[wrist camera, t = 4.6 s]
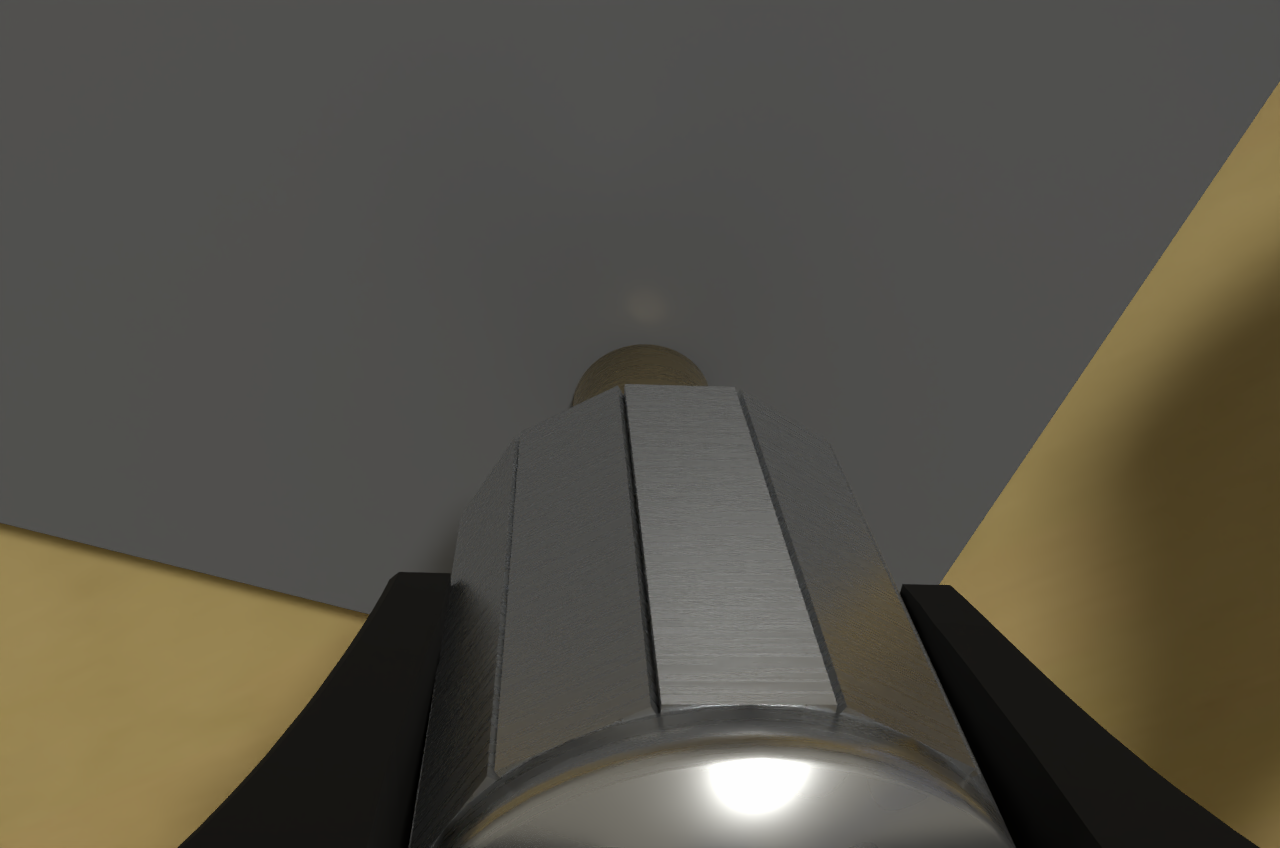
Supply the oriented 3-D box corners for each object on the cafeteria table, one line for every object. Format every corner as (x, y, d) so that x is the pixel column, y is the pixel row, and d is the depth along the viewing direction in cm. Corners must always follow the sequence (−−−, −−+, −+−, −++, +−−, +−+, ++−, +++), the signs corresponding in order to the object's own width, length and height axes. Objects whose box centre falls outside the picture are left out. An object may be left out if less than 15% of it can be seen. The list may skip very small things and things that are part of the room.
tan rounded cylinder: (747, 374, 17) (791, 509, 14) (691, 484, 18) (720, 635, 15) (587, 320, 17) (593, 449, 13) (539, 439, 18) (533, 586, 14)
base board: (1498, -325, 14) (1559, -334, 13) (829, 696, 23) (839, 730, 22) (-135, -1369, 9) (-208, -1496, 8) (-168, 440, 18) (-204, 472, 17)
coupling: (894, 391, 13) (1125, 764, 8) (828, 711, 15) (965, 1154, 10) (456, 379, 12) (376, 766, 7) (464, 711, 15) (411, 1175, 10)
